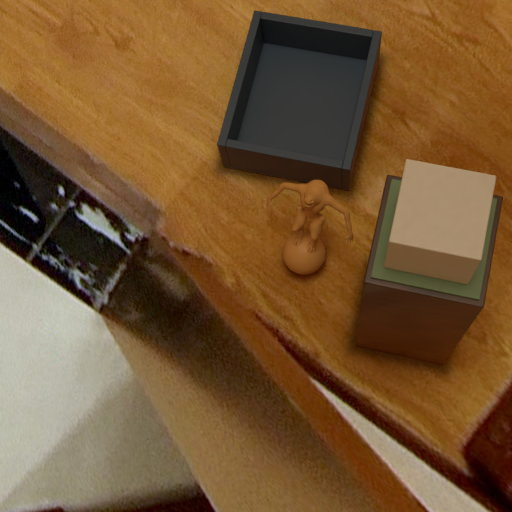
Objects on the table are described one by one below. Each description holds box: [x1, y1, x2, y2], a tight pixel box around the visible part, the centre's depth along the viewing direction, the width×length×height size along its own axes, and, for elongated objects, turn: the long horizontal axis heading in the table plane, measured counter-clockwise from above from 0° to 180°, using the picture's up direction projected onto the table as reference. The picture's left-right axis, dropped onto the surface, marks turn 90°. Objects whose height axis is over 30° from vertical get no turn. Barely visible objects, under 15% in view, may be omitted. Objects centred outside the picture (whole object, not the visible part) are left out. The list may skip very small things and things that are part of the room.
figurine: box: [266, 180, 354, 276], centre depth 76 cm, size 8×6×12 cm
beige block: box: [384, 158, 497, 284], centre depth 55 cm, size 6×6×6 cm
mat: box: [371, 179, 497, 300], centre depth 58 cm, size 7×7×1 cm
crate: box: [216, 9, 383, 192], centre depth 83 cm, size 13×15×5 cm
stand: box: [355, 174, 504, 366], centre depth 68 cm, size 8×8×22 cm
